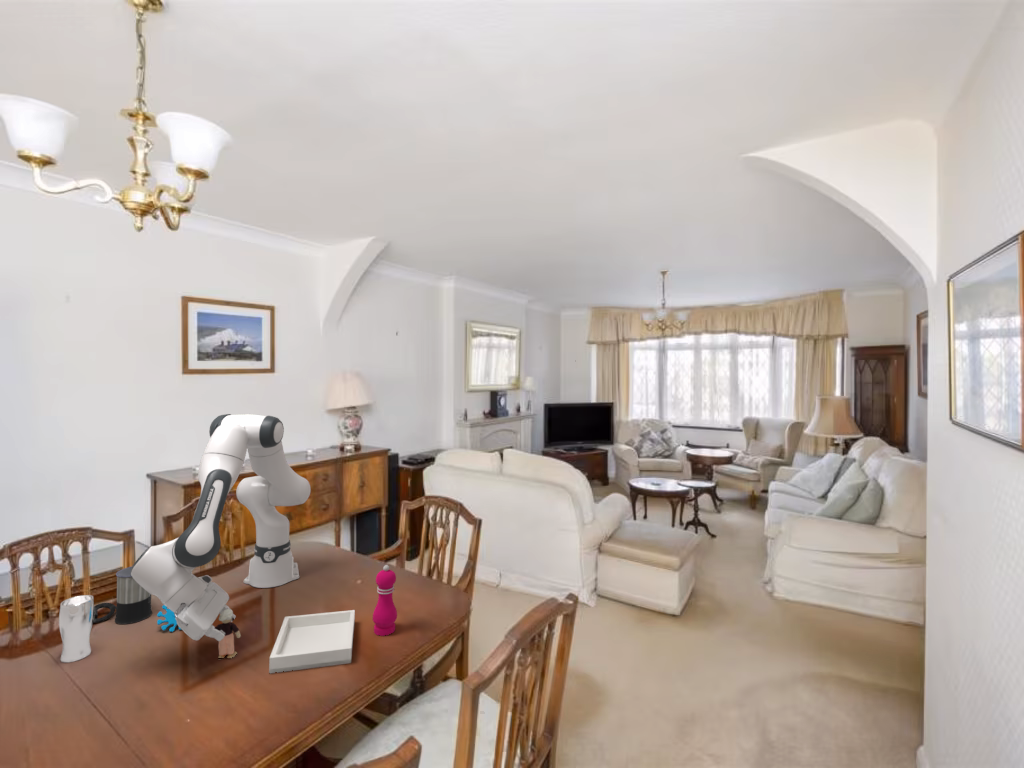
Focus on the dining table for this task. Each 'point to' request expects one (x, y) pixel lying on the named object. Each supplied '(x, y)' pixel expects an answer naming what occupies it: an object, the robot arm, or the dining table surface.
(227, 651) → the grandmother figurine
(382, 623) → the pepper mill
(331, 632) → the tray
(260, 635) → the dining table surface
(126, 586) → the milk frother
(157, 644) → the dining table surface
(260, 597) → the dining table surface
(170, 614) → the gear
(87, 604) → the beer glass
